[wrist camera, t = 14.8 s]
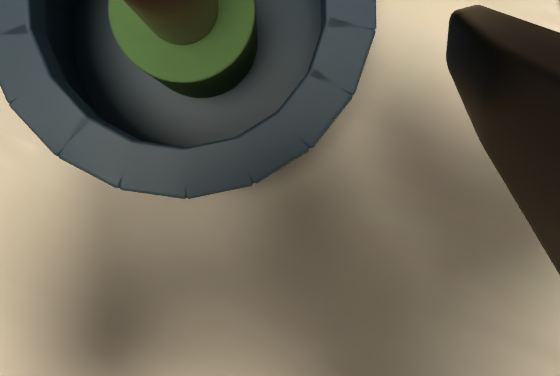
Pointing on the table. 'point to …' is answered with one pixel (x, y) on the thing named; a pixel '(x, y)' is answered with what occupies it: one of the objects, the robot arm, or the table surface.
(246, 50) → the sponge wand
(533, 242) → the table surface
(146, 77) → the blue-grey hollow cylinder
